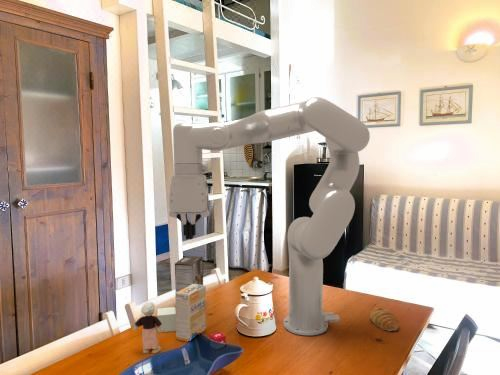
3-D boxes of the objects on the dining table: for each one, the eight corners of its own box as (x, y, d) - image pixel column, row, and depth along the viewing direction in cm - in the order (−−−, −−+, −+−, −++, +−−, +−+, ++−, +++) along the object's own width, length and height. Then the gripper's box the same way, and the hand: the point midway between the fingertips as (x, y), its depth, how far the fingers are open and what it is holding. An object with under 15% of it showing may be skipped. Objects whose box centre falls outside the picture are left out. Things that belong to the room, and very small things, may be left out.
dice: (215, 350, 95) (215, 339, 95) (209, 345, 98) (209, 334, 97) (225, 346, 97) (225, 335, 97) (219, 342, 99) (219, 331, 99)
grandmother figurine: (165, 345, 98) (164, 298, 96) (164, 353, 94) (162, 304, 93) (135, 347, 96) (133, 300, 95) (132, 355, 93) (130, 306, 92)
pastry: (405, 332, 105) (405, 318, 104) (382, 334, 104) (382, 320, 103) (388, 317, 114) (388, 305, 114) (367, 319, 113) (367, 307, 113)
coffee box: (186, 301, 127) (185, 255, 125) (204, 303, 125) (203, 256, 124) (175, 313, 118) (174, 263, 116) (194, 314, 116) (193, 264, 115)
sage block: (175, 323, 111) (175, 306, 110) (175, 330, 106) (175, 313, 106) (158, 325, 110) (157, 308, 109) (157, 332, 105) (157, 315, 104)
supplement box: (190, 343, 99) (189, 295, 98) (175, 339, 101) (174, 292, 100) (207, 330, 106) (206, 285, 105) (192, 326, 108) (192, 282, 107)
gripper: (218, 169, 103) (218, 235, 105) (164, 170, 104) (166, 235, 105) (214, 170, 96) (215, 241, 97) (156, 171, 96) (158, 241, 98)
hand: (189, 238), depth 101 cm, fingers closed
